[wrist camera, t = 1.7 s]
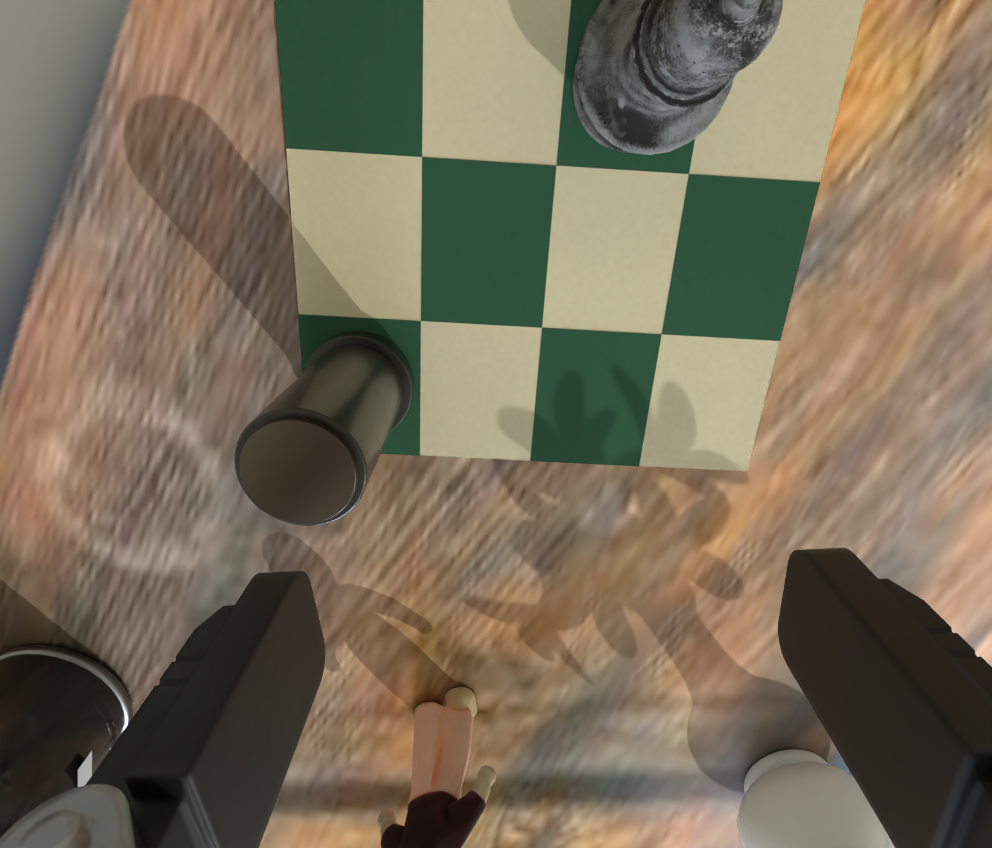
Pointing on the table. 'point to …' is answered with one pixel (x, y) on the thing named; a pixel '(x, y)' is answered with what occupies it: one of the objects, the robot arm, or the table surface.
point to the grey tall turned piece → (664, 67)
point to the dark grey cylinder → (326, 430)
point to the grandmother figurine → (440, 778)
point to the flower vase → (805, 806)
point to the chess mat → (549, 227)
